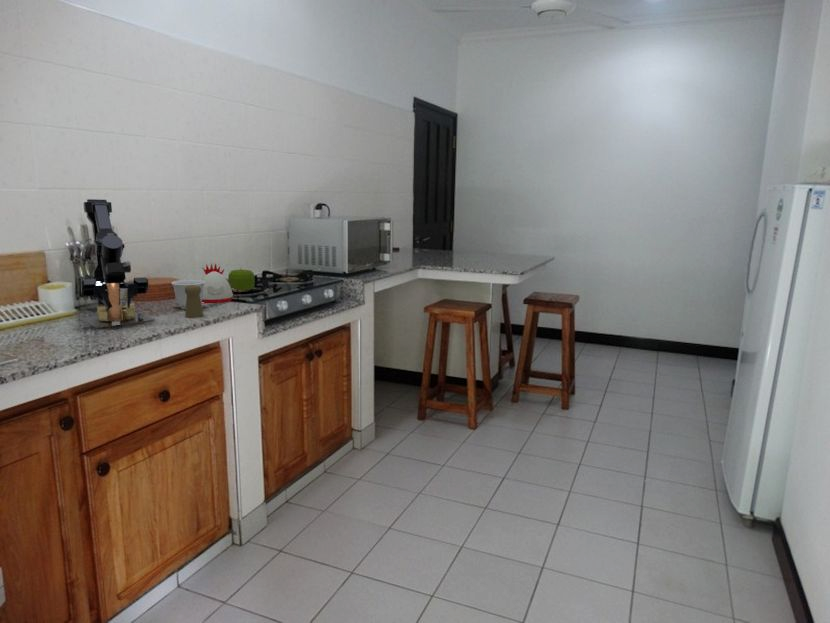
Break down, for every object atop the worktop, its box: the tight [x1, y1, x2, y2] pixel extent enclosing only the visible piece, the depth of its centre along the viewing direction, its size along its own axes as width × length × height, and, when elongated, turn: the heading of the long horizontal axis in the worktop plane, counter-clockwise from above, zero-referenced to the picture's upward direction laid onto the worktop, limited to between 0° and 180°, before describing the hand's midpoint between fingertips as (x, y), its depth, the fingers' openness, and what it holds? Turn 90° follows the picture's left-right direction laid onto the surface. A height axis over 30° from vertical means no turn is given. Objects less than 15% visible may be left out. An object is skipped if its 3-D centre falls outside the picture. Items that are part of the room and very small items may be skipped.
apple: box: [227, 267, 255, 290], centre depth 250 cm, size 11×11×11 cm
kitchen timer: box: [201, 263, 234, 304], centre depth 230 cm, size 14×14×15 cm
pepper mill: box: [184, 285, 204, 319], centre depth 200 cm, size 6×6×11 cm
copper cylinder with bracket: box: [96, 282, 136, 327], centre depth 187 cm, size 20×11×14 cm, turn 26°
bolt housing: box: [78, 299, 156, 329], centre depth 192 cm, size 18×18×6 cm
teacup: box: [170, 279, 206, 310], centre depth 212 cm, size 12×15×10 cm
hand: (118, 308), depth 179 cm, fingers open, 5 cm apart
